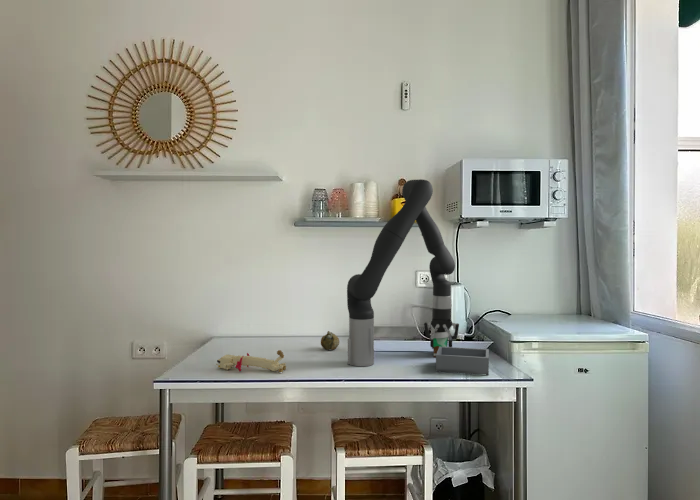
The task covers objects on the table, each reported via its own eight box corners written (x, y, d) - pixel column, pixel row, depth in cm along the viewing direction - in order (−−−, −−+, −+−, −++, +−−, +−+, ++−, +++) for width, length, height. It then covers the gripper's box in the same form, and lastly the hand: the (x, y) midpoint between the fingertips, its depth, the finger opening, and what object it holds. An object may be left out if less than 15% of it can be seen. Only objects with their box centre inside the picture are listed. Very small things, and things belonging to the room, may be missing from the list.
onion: (343, 349, 226) (343, 330, 225) (326, 352, 221) (326, 332, 221) (333, 346, 232) (333, 328, 232) (317, 349, 227) (317, 330, 227)
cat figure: (287, 371, 197) (222, 363, 201) (289, 348, 196) (224, 339, 201) (278, 379, 187) (211, 369, 192) (280, 354, 187) (212, 345, 191)
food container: (449, 359, 210) (449, 333, 209) (433, 358, 211) (433, 332, 210) (450, 352, 222) (450, 327, 221) (434, 351, 223) (435, 327, 222)
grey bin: (435, 371, 191) (435, 355, 191) (439, 362, 205) (439, 346, 204) (488, 375, 187) (488, 358, 186) (488, 365, 200) (488, 349, 200)
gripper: (422, 307, 214) (422, 349, 214) (459, 308, 210) (459, 352, 211) (424, 304, 221) (424, 345, 222) (460, 306, 217) (460, 347, 218)
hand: (441, 348), depth 216 cm, fingers open, 6 cm apart
